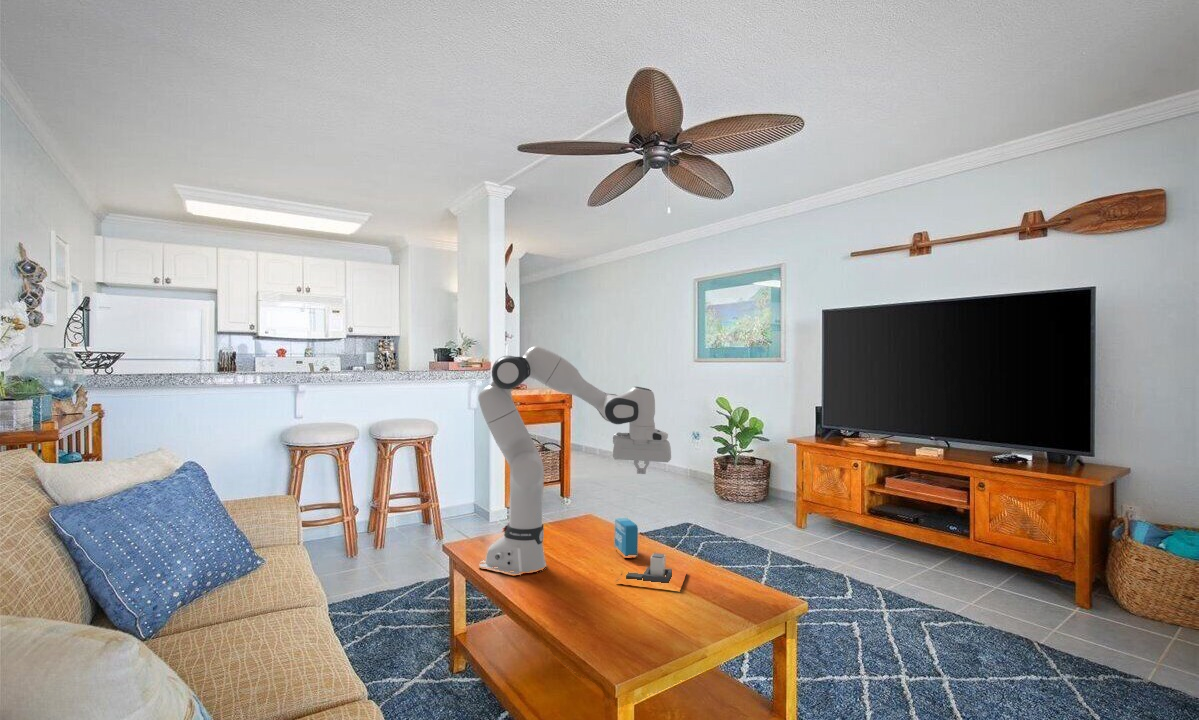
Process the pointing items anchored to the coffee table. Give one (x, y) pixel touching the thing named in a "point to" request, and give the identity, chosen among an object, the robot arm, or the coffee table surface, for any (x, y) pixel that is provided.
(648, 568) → the board
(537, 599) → the coffee table surface
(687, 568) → the coffee table surface
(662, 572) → the plug
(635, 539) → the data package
